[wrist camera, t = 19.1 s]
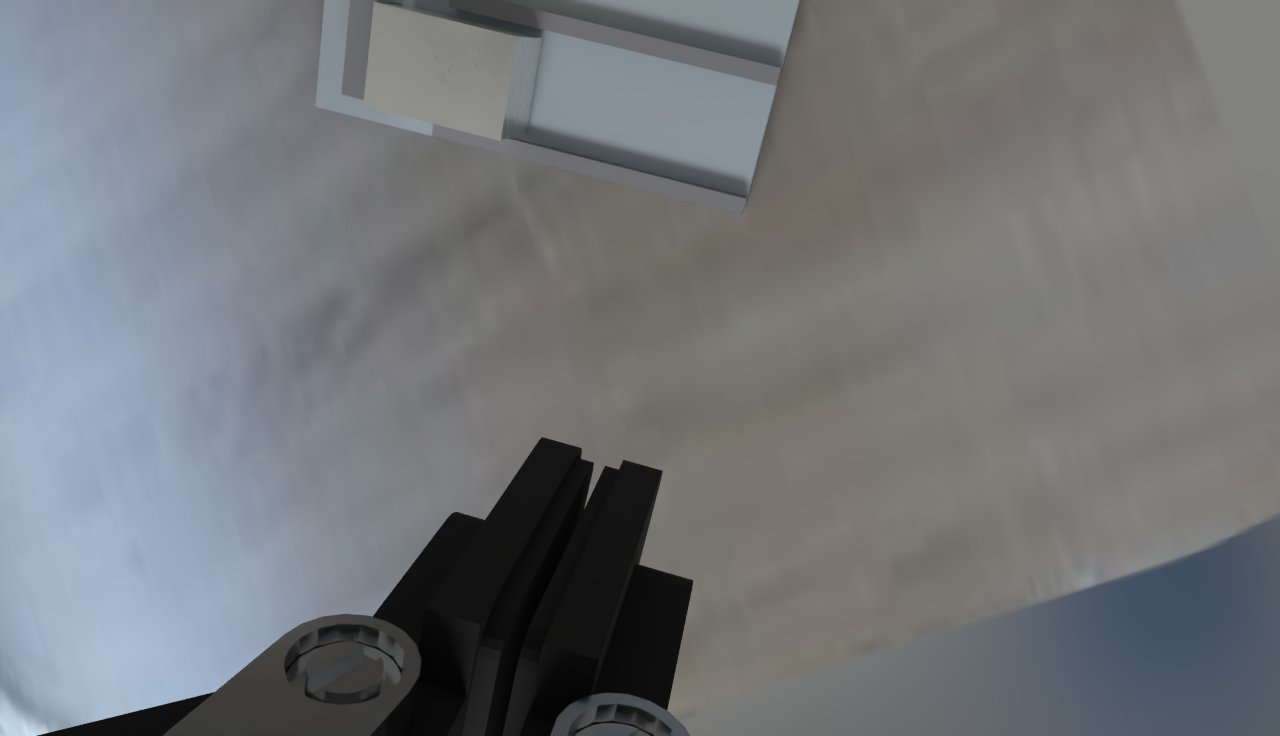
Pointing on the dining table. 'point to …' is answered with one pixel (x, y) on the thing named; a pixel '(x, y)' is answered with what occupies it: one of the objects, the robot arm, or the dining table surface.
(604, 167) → the base
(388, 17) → the cover
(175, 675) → the dining table surface
